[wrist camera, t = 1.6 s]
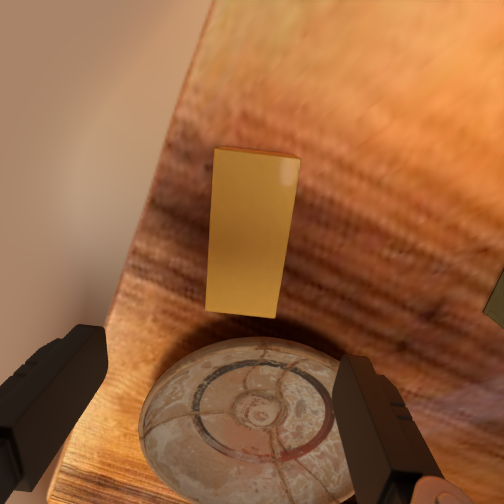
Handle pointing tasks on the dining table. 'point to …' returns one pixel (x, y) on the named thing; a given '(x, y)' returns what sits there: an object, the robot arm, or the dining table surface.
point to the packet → (249, 229)
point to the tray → (497, 303)
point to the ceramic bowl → (247, 425)
